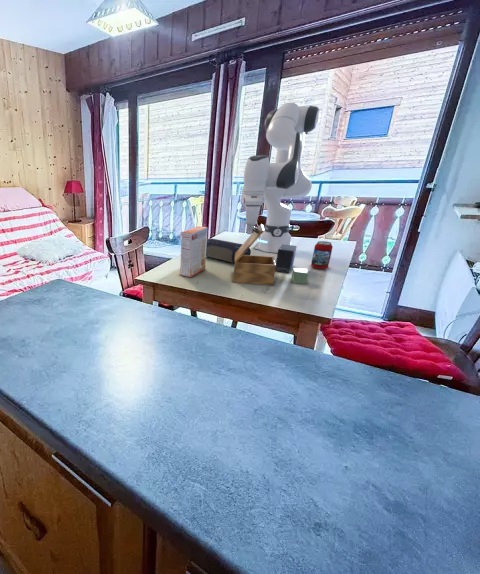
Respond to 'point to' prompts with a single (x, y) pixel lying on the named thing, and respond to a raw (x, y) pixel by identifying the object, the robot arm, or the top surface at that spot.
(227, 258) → the portable speaker
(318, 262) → the beverage can
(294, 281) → the block
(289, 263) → the small box
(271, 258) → the basket
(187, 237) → the cracker box
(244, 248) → the basket lid
